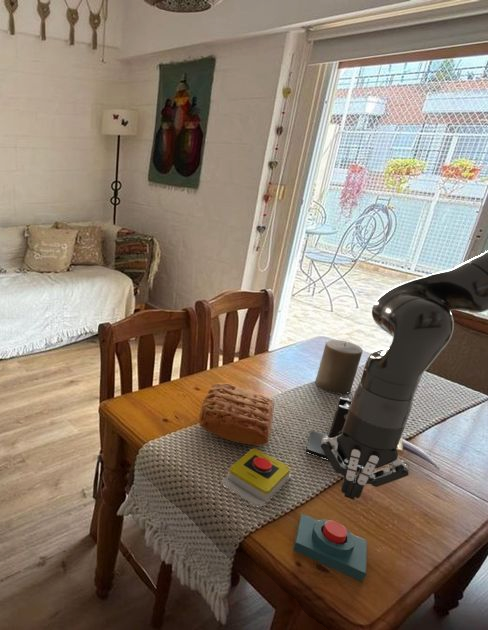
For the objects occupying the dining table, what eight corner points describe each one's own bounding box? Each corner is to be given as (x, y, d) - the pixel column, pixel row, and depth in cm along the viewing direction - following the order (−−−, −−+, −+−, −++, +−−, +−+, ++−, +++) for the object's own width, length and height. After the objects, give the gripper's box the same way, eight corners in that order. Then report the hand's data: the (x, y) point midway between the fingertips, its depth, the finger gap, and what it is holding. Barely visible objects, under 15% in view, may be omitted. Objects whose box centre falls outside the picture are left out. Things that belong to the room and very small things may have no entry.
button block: (363, 548, 82) (369, 533, 80) (362, 582, 76) (369, 566, 74) (299, 521, 87) (303, 506, 86) (293, 550, 81) (298, 535, 80)
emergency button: (296, 461, 97) (264, 493, 88) (292, 476, 99) (260, 510, 90) (257, 439, 104) (222, 468, 94) (253, 454, 105) (219, 484, 96)
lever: (397, 445, 101) (405, 439, 100) (397, 457, 97) (406, 451, 96) (339, 405, 105) (347, 399, 104) (338, 415, 101) (345, 409, 100)
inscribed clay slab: (263, 463, 102) (270, 435, 99) (190, 439, 110) (194, 412, 107) (274, 415, 120) (280, 390, 117) (211, 397, 128) (215, 373, 125)
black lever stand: (364, 451, 107) (381, 404, 102) (363, 473, 100) (381, 423, 95) (309, 433, 113) (323, 388, 108) (305, 453, 106) (319, 405, 101)
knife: (449, 466, 103) (343, 411, 123) (453, 457, 102) (345, 403, 122) (433, 478, 99) (327, 419, 119) (437, 469, 98) (329, 411, 118)
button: (345, 533, 81) (347, 526, 80) (344, 547, 78) (346, 540, 77) (323, 524, 82) (325, 517, 82) (321, 537, 80) (323, 530, 79)
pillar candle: (350, 398, 129) (364, 352, 124) (313, 388, 134) (325, 344, 128) (350, 383, 137) (364, 340, 131) (315, 374, 142) (327, 332, 136)
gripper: (328, 410, 70) (304, 492, 77) (432, 440, 63) (395, 527, 70) (332, 389, 76) (309, 467, 83) (427, 414, 69) (394, 498, 76)
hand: (349, 495), depth 76 cm, fingers closed
